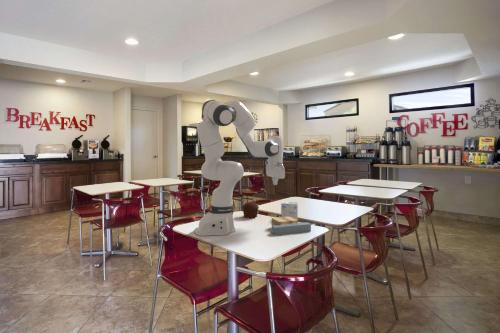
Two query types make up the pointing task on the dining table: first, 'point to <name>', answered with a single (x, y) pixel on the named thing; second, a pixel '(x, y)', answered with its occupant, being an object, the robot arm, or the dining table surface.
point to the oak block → (283, 220)
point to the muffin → (250, 210)
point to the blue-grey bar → (291, 228)
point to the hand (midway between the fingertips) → (275, 184)
